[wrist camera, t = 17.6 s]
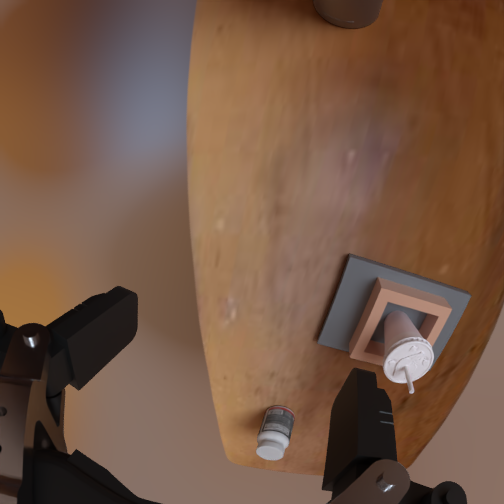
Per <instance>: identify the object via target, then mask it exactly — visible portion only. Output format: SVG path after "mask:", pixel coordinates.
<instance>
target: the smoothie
mask: <svg viewBox="0 0 504 504" xmlns="http://www.w3.org/2000/svg"><path fill="white" fill-rule="evenodd" d="M384 338H385V355H384V358H383V364H382V366H383V369H384V373H385V375H386V377H387V378H388V379H389V380H391V381H393V382H396V383H407V384H408V388H409V393H414V387H413V384H412V381H415V380H417V379H419V378H420V377H422V376H423V375H424V374H425V373H426V372H427V371H428V370H429V369H430V367H431V365H432V363H433V360H434V353H433V350H432V346H431V345H430V343H429V342H428V341H427V340H426V339H424V338H423V337H422V336H421V334H420V333H419V331H418V330H417V329H416V327H415V326H414V324H413V323H412V321H411V320H410V319H409V317H408V316H407V314H406V313H404V312H403V311H394V312H391V313H390V314H389V315H388V316H387V317H386V318H385V321H384Z"/></svg>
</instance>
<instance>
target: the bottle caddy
mask: <svg viewBox="0 0 504 504" xmlns="http://www.w3.org/2000/svg"><path fill="white" fill-rule="evenodd" d="M470 297H471V295H470V294H469V293H468V291H465V290H462V289H459V288H456V287H453V286H450V285H447V284H444V283H441V282H438V281H435V280H432V279H429V278H426V277H423V276H420V275H417V274H413V273H410V272H407V271H404V270H401V269H398V268H395V267H392V266H388V265H385V264H382V263H379V262H376V261H373V260H369V259H366V258H363V257H360V256H356V255H353V254H350V253H349V256H348V259H347V262H346V265H345V268H344V271H343V274H342V277H341V279H340V282H339V285H338V288H337V290H336V293H335V296H334V298H333V301H332V304H331V306H330V309H329V312H328V314H327V317H326V319H325V322H324V324H323V327H322V329H321V332H320V334H319V337H318V342H317V343H318V344H321V345H325V346H328V347H332V348H336V349H339V350H343V351H347V352H349V355H350V358H353V359H357V360H361V361H365V362H369V363H373V364H377V365H382V364H383V358H384V355H385V338H384V321H385V318H386V317H387V316H388V315H389V314H390V313H391V312H394V311H403V312H404V313H406V314H407V316H408V317H409V319H410V320H411V321H412V323H413V324H414V326H415V327H416V329H417V330H418V331H419V333H420V334H421V336H422V337H423V338H424V339H426V340H427V341H428V342H429V343H430V345H431V346H432V350H433V353H434V360H433V363H432V365H431V367H430V369H431V368H432V366H433V365H434V363H435V362H436V360H437V358H438V357H439V355H440V353H441V352H442V350H443V348H444V347H445V345H446V343H447V342H448V340H449V338H450V336H451V334H452V333H453V331H454V329H455V327H456V325H457V323H458V322H459V320H460V318H461V316H462V314H463V312H464V310H465V308H466V306H467V304H468V302H469V299H470ZM430 369H429V370H428V371H430Z"/></svg>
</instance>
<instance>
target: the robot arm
mask: <svg viewBox="0 0 504 504" xmlns="http://www.w3.org/2000/svg"><path fill="white" fill-rule="evenodd" d="M382 2H383V0H313V3H314V6H315V9H316V10H317V12H318V13H319V15H321V16H322V17H323V18H324V19H325V20H327V21H328V22H330V23H332V24H334V25H337V26H340V27H344V28H361V27H365V26H368V25H370V24H371V23H373V22H374V21H375V20H376V19H377V17H378V15H379V12H380V9H381V5H382ZM137 314H138V297H137V294H136V293H134V292H132V291H130V290H128V289H125V288H123V287H121V286H117V287H115V288H113V289H112V290H110V291H109V292H107V293H106V294H105V293H102V294H98V295H95V296H92V297H90V298H88V299H87V300H85V301H84V302H82V304H79V305H78V306H76V307H74V309H71V310H70V311H68V312H67V313H65V314H64V315H62V316H61V317H59V318H58V319H56V320H54V321H53V322H52V323H50V324H48V325H47V326H43V325H41V324H38V323H28V324H25V325H22V326H20V327H19V328H17V327H14V326H11V325H9V324H6V323H5V320H4V316H3V313H2V311H1V310H0V504H161V503H157V502H153V501H149V500H145V499H142V498H139V497H137V496H136V495H134V494H133V493H132V492H131V491H130V490H129V489H127V488H126V487H125V486H124V485H123V484H122V483H121V482H120V481H118V480H117V479H116V478H115V477H114V476H113V475H112V474H111V473H110V472H109V471H108V470H107V469H105V468H104V467H102V466H101V465H99V464H97V463H96V462H94V461H93V460H91V459H90V458H88V457H87V456H86V455H84V454H83V453H81V452H80V451H78V450H77V449H76V450H75V451H74V452H73V453H72V455H70V454H68V453H67V447H66V443H65V439H64V407H65V387H66V386H67V385H68V384H70V385H72V386H73V387H75V388H76V389H77V390H80V389H81V388H82V387H83V386H85V385H86V384H87V383H88V382H89V380H91V379H92V378H93V377H94V376H95V375H96V374H97V373H98V372H99V371H100V370H101V369H102V368H103V367H104V366H105V365H106V364H108V363H109V362H110V361H111V360H112V359H113V358H114V357H115V356H116V355H117V354H118V353H119V352H120V351H121V350H122V349H124V348H125V347H126V346H127V345H128V344H129V343H130V342H131V341H132V340H133V338H134V337H135V335H136V332H137V325H138V323H137V322H138V319H137V318H138V317H137V316H138V315H137ZM393 423H394V422H393V415H392V406H391V400H390V399H389V397H388V395H387V393H386V392H385V390H384V389H380V388H377V380H376V374H375V372H371V371H367V370H363V369H358V368H353V369H352V371H351V372H350V374H349V376H348V378H347V379H346V381H345V383H344V385H343V386H342V388H341V390H340V392H339V393H338V395H337V397H336V399H335V401H334V403H333V406H332V410H331V418H330V429H329V438H328V447H327V455H326V463H325V470H324V478H323V484H322V490H326V491H332V498H331V500H330V501H329V502H328V503H326V504H467V499H466V494H465V492H464V490H463V489H462V487H461V486H460V485H458V484H457V483H455V482H451V481H446V482H442V483H440V484H439V485H437V486H436V487H435V488H429V487H426V486H423V485H420V484H418V483H415V482H413V481H411V480H410V476H409V474H408V472H407V470H406V469H405V468H404V466H402V465H401V464H400V463H398V462H397V452H396V441H395V431H394V425H393Z"/></svg>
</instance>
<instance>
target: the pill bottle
mask: <svg viewBox="0 0 504 504" xmlns="http://www.w3.org/2000/svg"><path fill="white" fill-rule="evenodd" d="M294 418H295V416H294V413H293V412H292V411H291V410H290V409H288V408H286V407H283V406H273V407H270V408H269V409H267V411H266V412H265V415H264V418H263V421H262V425H261V428H260V431H259V434H258V437H257V442H258V446H257V449H256V452H257V454H258V455H259V456H260V457H262V458H264V459H267V460H278V459H281V458H282V457H283V454H284V451H285V450H284V449H285V448H286V447H287V446H288V445H289V441H290V437H291V432H292V428H293V424H294Z"/></svg>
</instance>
